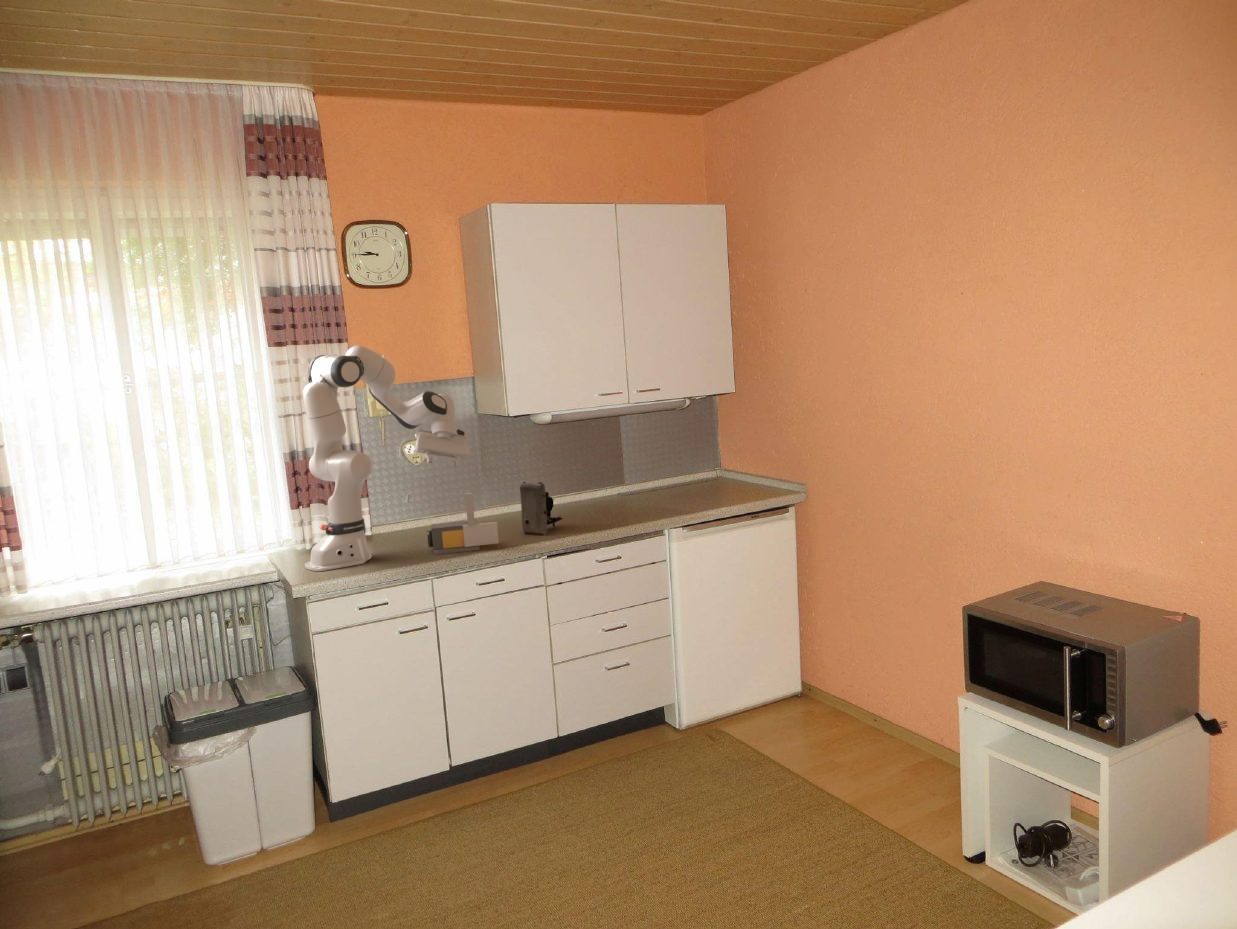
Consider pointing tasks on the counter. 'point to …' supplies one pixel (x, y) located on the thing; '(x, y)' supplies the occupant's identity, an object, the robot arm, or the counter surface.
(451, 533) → the camera housing
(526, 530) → the vintage camera
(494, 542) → the side door
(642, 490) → the counter surface
